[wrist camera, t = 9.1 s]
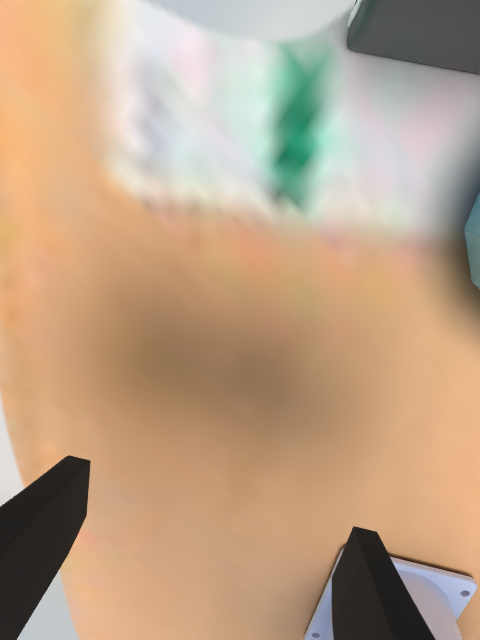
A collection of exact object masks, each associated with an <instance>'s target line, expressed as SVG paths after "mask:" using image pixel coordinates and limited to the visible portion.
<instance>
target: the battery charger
mask: <svg viewBox="0 0 480 640" xmlns="http://www.w3.org/2000/svg"><path fill="white" fill-rule="evenodd" d="M348 28H349V32H348V38H347V43H348V47H349V48H350V49H351V50H354V51H358V52H364V53H369V54H374V55H379V56H385V57H390V58H395V59H401V60H406V61H412V62H417V63H422V64H428V65H433V66H439V67H444V68H450V69H456V70H461V71H467V72H472V73H478V74H480V0H356V3H355V6H354V8H353V10H352V12H351V13H350V17H349V22H348Z"/></svg>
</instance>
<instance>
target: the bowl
mask: <svg viewBox="0 0 480 640" xmlns="http://www.w3.org/2000/svg"><path fill="white" fill-rule="evenodd" d="M464 233H465V240H466V247H467V254H468V261H469V267H470V274H471V281H472V283H473V284H474V285H475V286H476V287H477V288H478V289H479V290H480V191H479V193H478V196H477V198H476V201H475V203H474V205H473V208H472V210H471V213H470V215H469V217H468V220H467V222H466V225H465V227H464Z"/></svg>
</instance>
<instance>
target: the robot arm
mask: <svg viewBox="0 0 480 640" xmlns="http://www.w3.org/2000/svg"><path fill="white" fill-rule="evenodd" d="M89 475H90V460H86V459H82V458H78V457H73V456H67V457H65V458H64V459H62V460H61V461H60V462H59V463H57V464H56V465H55V466H53V467H52V468H51V469H50V470H48V471H47V472H46V473H45V474H43V475H42V476H41V477H39V478H38V479H37V480H36V481H34V482H33V483H32V484H30V485H29V486H28V487H26V488H25V489H24V490H22V491H21V492H20V493H18V494H17V495H16V496H14V497H13V498H12V499H10V500H9V501H7V502H6V503H5V504H3V505H2V506H1V507H0V640H17V638H18V636H19V635H20V633H21V631H22V630H23V628H24V627H25V624H26V623H27V622H28V620H29V618H30V617H31V615H32V613H33V611H34V610H35V608H36V607H37V605H38V603H39V602H40V600H41V599H42V597H43V595H44V594H45V592H46V590H47V589H48V587H49V585H50V584H51V582H52V580H53V579H54V577H55V575H56V574H57V572H58V570H59V569H60V567H61V565H62V564H63V562H64V560H65V559H66V557H67V555H68V554H69V551H70V549H71V547H72V545H73V543H74V541H75V539H76V537H77V535H78V533H79V531H80V528H81V526H82V524H83V522H84V520H85V518H86V515H87V502H88V488H89ZM476 590H477V584H476V582H475V580H474V579H473V578H472V577H469V576H465V575H461V574H457V573H453V572H449V571H445V570H441V569H437V568H433V567H429V566H425V565H421V564H417V563H413V562H409V561H405V560H401V559H397V558H393V557H390V556H389V554H388V552H387V550H386V548H385V546H384V544H383V542H382V541H381V539H380V537H379V535H378V533H377V532H375V531H371V530H367V529H363V528H359V527H355V526H354V527H353V529H352V531H351V534H350V536H349V538H348V541H347V543H346V545H345V548H343V549H342V551H341V553H340V555H339V557H338V560H337V562H336V564H335V567H334V569H333V571H332V574H331V576H330V578H329V581H328V583H327V585H326V588H325V590H324V592H323V594H322V597H321V599H320V601H319V604H318V606H317V608H316V611H315V613H314V615H313V618H312V620H311V622H310V625H309V627H308V629H307V632H306V634H305V636H304V640H463V639H462V636H461V633H460V631H459V628H458V625H457V622H456V620H457V619H458V617H459V616H460V614H461V613H462V611H463V610H464V608H465V607H466V605H467V604H468V602H469V600H470V599H471V597H472V596H473V594H474V593H475V591H476Z"/></svg>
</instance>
